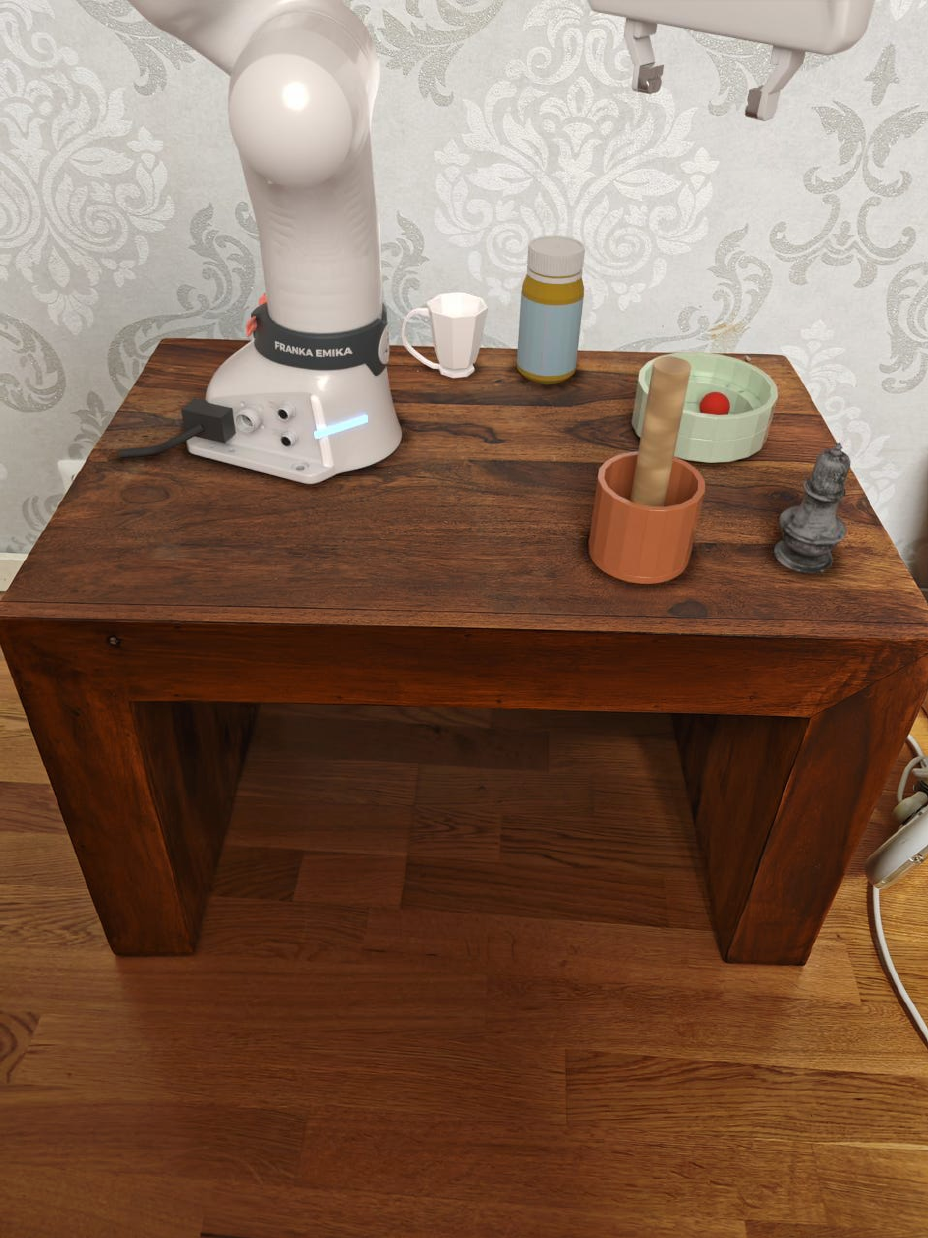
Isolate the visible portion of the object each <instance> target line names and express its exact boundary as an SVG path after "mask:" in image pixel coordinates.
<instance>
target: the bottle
mask: <svg viewBox="0 0 928 1238" xmlns="http://www.w3.org/2000/svg"><path fill="white" fill-rule="evenodd" d="M585 252H586V249H585V245H584V243H583V242H582V241H580V240H578V239H576V238H573V237H570V236H565V235H542V236H538V237H535V238H533V239H531V240H530V241H529V242H528V245H527V259H526V262H527V265H526V275H525V277H524V279H523V282H522V284H521V291H520V306H519V319H518V320H519V321H518V335H517V337H518V338H517V339H518V340H517V350H516V351H517V352H516V353H517V354H516V368H517V371H518V372H519V373H520V374H521V376H523V377H524V379H526V380H528V381H530V382H533V383H537V384H542V385H555V384H560V383H563V382H565V381H567V380H569V378H571V377H572V376H573V375H574V374H575V372H576V369H577V362H578V353H579V352H578V351H579V343H580V335H581V324H582V315H583V308H584V307H583V306H584V298H585V297H584V296H585V286H584V281H583V268H584V262H585Z"/></svg>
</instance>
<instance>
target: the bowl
mask: <svg viewBox="0 0 928 1238" xmlns="http://www.w3.org/2000/svg"><path fill="white" fill-rule="evenodd" d="M666 356H671V357H678V358H681V359H684V360H686V361H687V362H689V363H690V365H691V372H690V377H689V382H688V387H687V392H686V397H685V402H684V407H683V412H682V418H681V423H680V428H679V433H678V438H677V443H676V448H675V453H674V457H676V458H678V459H681V460H684V461H690V462H691V461H693V462H701V463H707V464H708V463H709V464H711V463H713V464H714V463H730V462H735V461H738V460H743V459H747V458H749V457H751V456H753V455H754V454H756V453H757V452H760V451H761V450H762V448H763V447H764V445H765V443H766V442H767V440H768V436H769V432H770V428H771V426H772V421H773V418H774V413H775V410H776V406H777V403H778V400H779V389H778V385H777V384H776V382H775V381H774V380H773V379H772V377H771V376H770V375H769V374H767V373H766V372H765V371H763V370H762V369H761V368H759V367H758V366H756V365H753V364H751V363H749V362H747V361H744V360H742V359H739V358H736V357H732V356H728V355H725V354H721V353H715V352H707V351H706V352H704V351H681V352H680V351H679V352H678V351H677V352H673V353H668V354H663V355H660V356H657V357H655V358H652V359H650V360H649V361H647V362H646V363H645V364H644V365H643V366H642V367H641V369H640V370H639V371H638V377H637V378H638V379H637V383H636V391H635V396H634V403H633V410H632V417H631V426H632V428H633V429H634V431H635V434H636V435H637V437H639V438H640V439H641V433H642V427H643V421H644V415H645V409H646V403H647V397H648V391H649V385H650V379H651V374H652V368H653V362H654V361H655V360H656V359H657V358H660V357H666ZM711 392H720V393H722V394H724V395H725V396H726V397H727V398H728V400H729V403H730V409H729V412H728V414H727V415H714V414H705V413H700V409H699V407H700V402H701V400H702V399H703V397H704V396H705V395H707V394H708V393H711Z"/></svg>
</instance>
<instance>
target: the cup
mask: <svg viewBox="0 0 928 1238" xmlns="http://www.w3.org/2000/svg"><path fill="white" fill-rule="evenodd" d="M426 305H427V307H416V308H414V309H411V310H410V311H409V312H408V313H407V315H406V316H405V317H404V320H403V323H402V328H401V335H400V336H401V340H402V343H403V347H404V348H405V349H406V350H407V351H408V352H409V354H411V355H412V356H413V357H414V358H416V360H418V361H419V362H421V363H422V364H423V365H425V366H427V367H428V368H431V369H433V370H438V371H439V373H440V375H442V376H445V377H449V378H450V379H457V378H468V377H469V376H470V375H472V374H473V373H474V372H475V367H474V365H473V364H475V363H476V361H477V358H478V355H479V352H480V349H481V345H482V340H483V334H484V330H485V325H486V320H487V315H488V309H489V307H488V305H487V303H486V301H485V300H484V299H483V297H481V296H478V295H474V294H470V293H466V292H462V291H460V292H459V291H458V292H447V293H438V294H437V295H436V296H434V297H432V298H431V299H429V300H428V301H427V302H426ZM413 315H420V316H423V317H427V318H429V325H430V332H431V338H432V345H433V348H434V352H435V354H436V359H437V361H438V363H436V362H433V361H431V360H429V359H427V358H426V357H425V356H423V355H422V354H420V353H419V352H418V351H417V350H415V349H414V348H413V346H412V345H411V344H410V343H409V342H408V339H407V336H406V328H407V327H406V326H407V323H408V321H409V319H410V318H411V317H412V316H413Z"/></svg>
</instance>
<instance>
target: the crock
mask: <svg viewBox="0 0 928 1238" xmlns="http://www.w3.org/2000/svg"><path fill="white" fill-rule="evenodd" d="M638 451H639V450H635V451H630V452H624V453H623V452H622V453H619V454H617V455H615V456H613V457H611V458H608V459H606V460H605V462H603V464H602V465H601V466H600V467H599V468H598V474H597V480H596V487H595V493H594V502H593V509H592V516H591V524H590V532H589V537H588V538H589V539H588V547H587V548H588V555H589V556H590V559H591V560H592V562H593V564H595V566H596V567H597V568H598V569H600V571H602V572H604V573H606V575H609V576H610V577H613V578H615V579H617V580H621V581H623V582H626V583H627V582H628V583H633V584H641V585H652V584H654V585H655V584H661V583H664V582H665V583H666V582H668V581H671V580H673V579H676V578H677V577H678V576H680V575H681V574H682V573H683V572H684V571H685V570H686V568H687V567H688V565H689V561H690V559H691V555H692V551H693V546H694V541H695V536H696V533H697V529H698V524H699V519H700V515H701V510H702V507H703V502H704V497H705V495H706V494H705V493H706V481H705V479H704V477H703V475H702V474H701V473H700V471H699V470H698V468H695V467H694V466H693V465H691V464H690V463H689V462H687V461H686V460H684V459H681V458H678V457H675V456H674V458H673V463H672V468H671V474H670V479H669V484H668V489H667V494H666V499H665V504H664V507H659V506H646V505H642V504H638V503H633V502H631V501H630V499H631V493H632V487H633V481H634V475H635V469H636V463H637V457H638Z"/></svg>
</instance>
